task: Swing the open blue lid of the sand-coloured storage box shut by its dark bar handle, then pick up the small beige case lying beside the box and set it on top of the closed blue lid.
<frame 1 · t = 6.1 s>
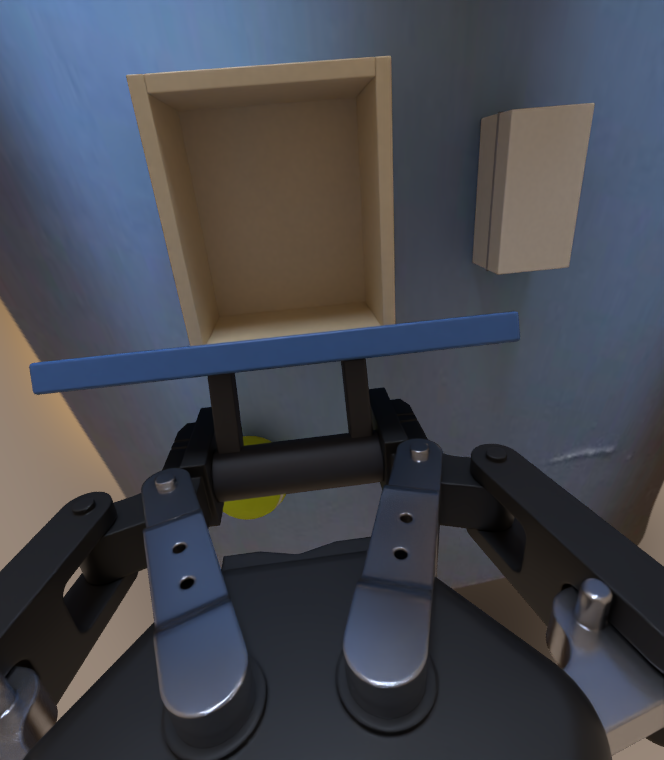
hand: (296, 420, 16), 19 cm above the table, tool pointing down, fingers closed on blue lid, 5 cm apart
beige case: (510, 192, 31), on the table
blue lid: (297, 397, 19), point 16 cm above the table, hinge at 68.0°, touching gripper
storage box: (281, 215, 30), on the table
tennis ball: (252, 451, 39), on the table
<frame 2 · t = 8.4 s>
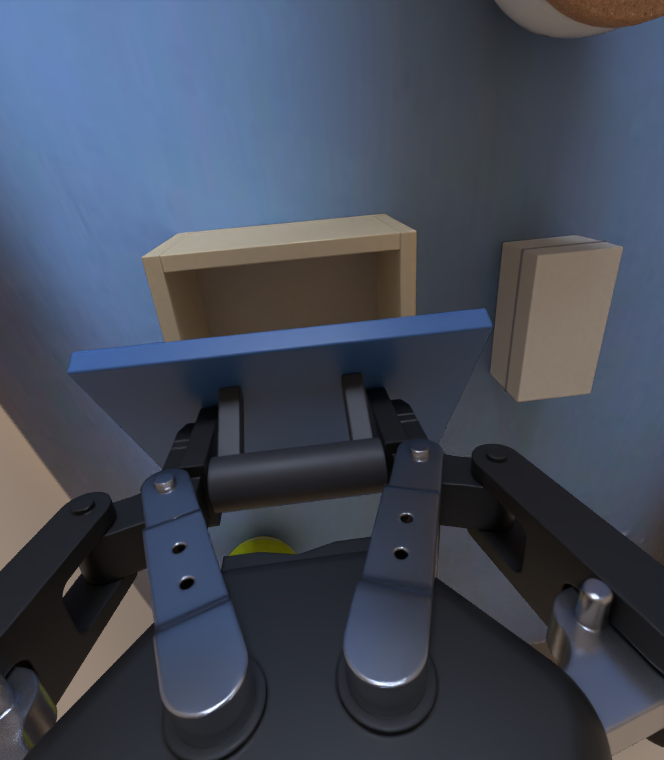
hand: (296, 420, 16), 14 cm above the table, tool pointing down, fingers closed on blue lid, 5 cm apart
beige case: (530, 308, 30), on the table
blue lid: (307, 485, 18), point 13 cm above the table, hinge at 30.8°, touching gripper
storage box: (296, 335, 29), on the table
tennis ball: (263, 545, 38), on the table
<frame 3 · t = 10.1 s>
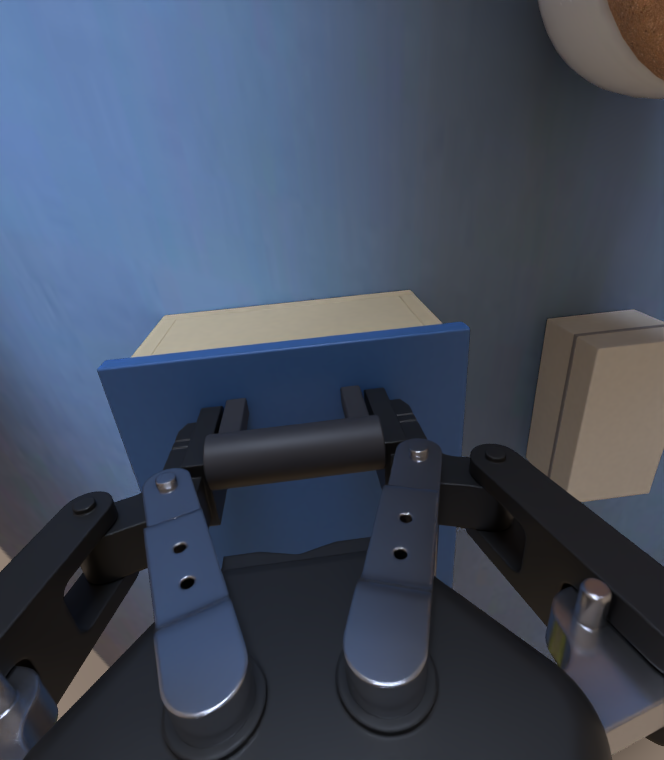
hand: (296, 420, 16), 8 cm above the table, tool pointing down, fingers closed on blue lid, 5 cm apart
beige case: (575, 388, 26), on the table
blue lid: (312, 549, 17), point 10 cm above the table, hinge at -0.2°, touching gripper, storage box
storage box: (304, 422, 25), on the table
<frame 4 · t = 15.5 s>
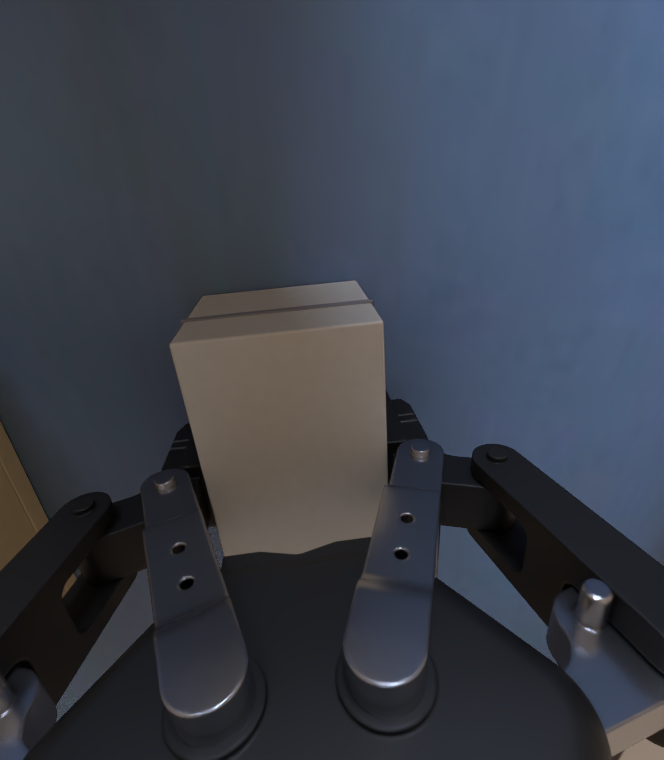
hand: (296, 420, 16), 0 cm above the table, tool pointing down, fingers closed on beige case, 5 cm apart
beige case: (296, 414, 16), on the table, touching gripper
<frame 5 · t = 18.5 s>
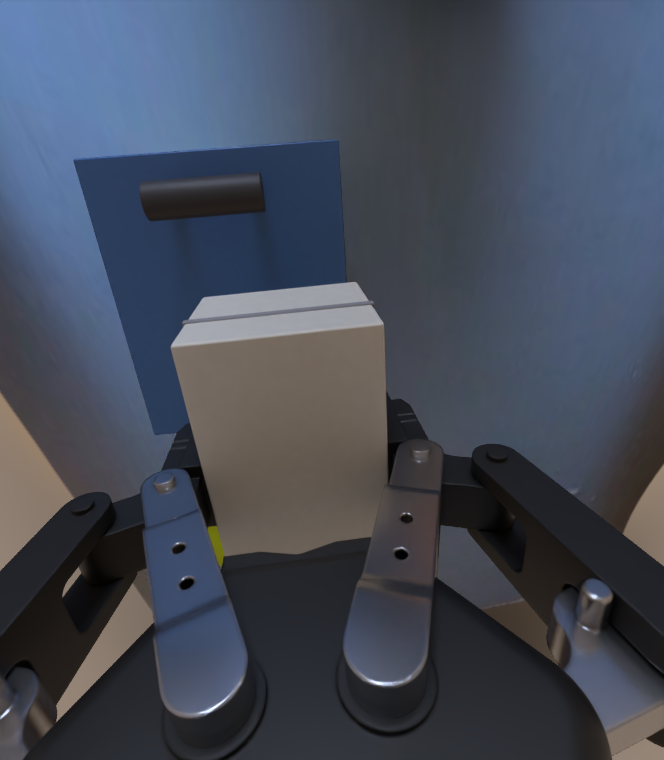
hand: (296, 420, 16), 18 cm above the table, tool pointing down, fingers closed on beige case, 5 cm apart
beige case: (297, 415, 16), point 18 cm above the table, touching gripper
blue lid: (231, 313, 23), point 10 cm above the table, hinge at -0.2°, touching storage box
tennis ball: (224, 495, 40), on the table
when the fingers open (9 cm above the table, at t = 21.4 s): beige case stays where it is, resting on blue lid.
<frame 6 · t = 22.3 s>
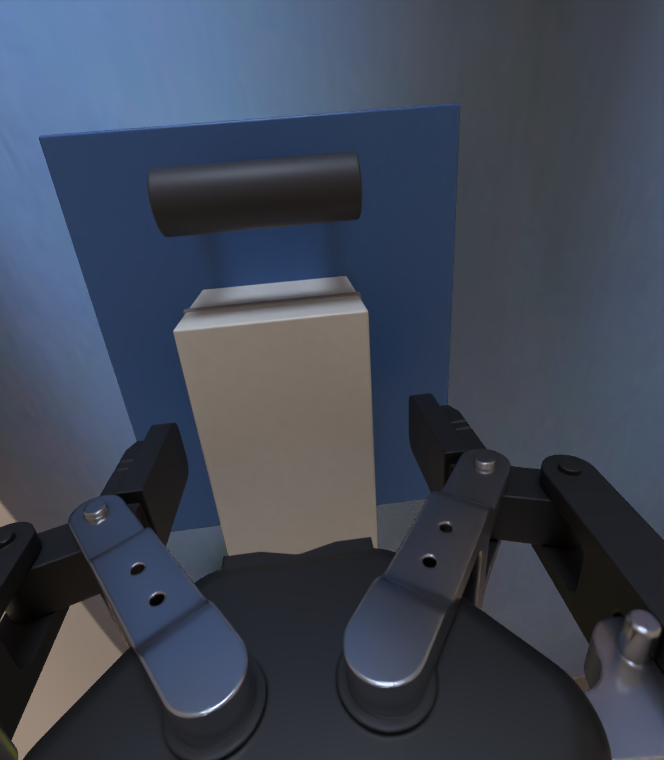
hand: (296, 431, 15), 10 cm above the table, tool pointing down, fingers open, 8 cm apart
beige case: (291, 402, 17), point 8 cm above the table, touching blue lid
blue lid: (286, 374, 15), point 10 cm above the table, hinge at -0.2°, touching beige case
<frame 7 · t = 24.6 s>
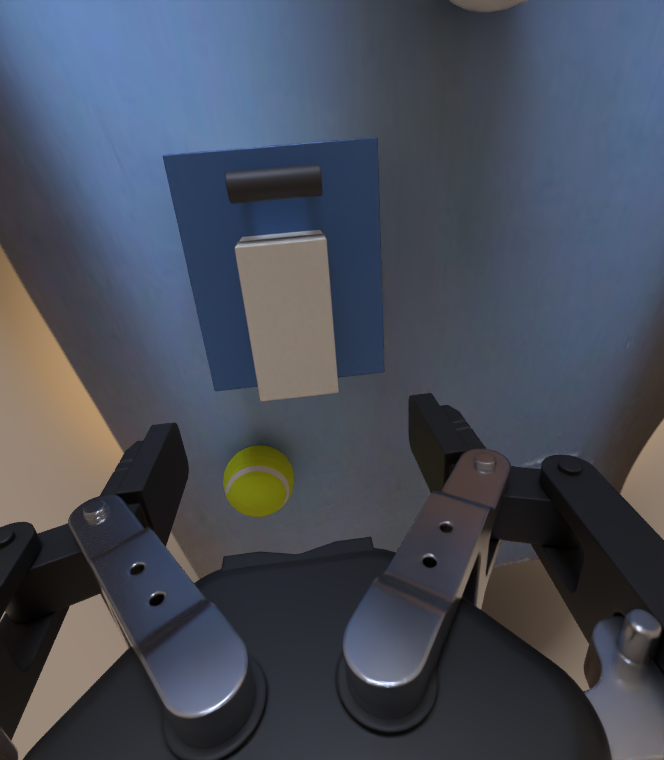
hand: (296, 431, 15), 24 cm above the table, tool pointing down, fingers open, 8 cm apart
beige case: (290, 306, 29), point 8 cm above the table, touching blue lid
blue lid: (287, 282, 27), point 10 cm above the table, hinge at -0.2°, touching beige case
tennis ball: (261, 458, 44), on the table
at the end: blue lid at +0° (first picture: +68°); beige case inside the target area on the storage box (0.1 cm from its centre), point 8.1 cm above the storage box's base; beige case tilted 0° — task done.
